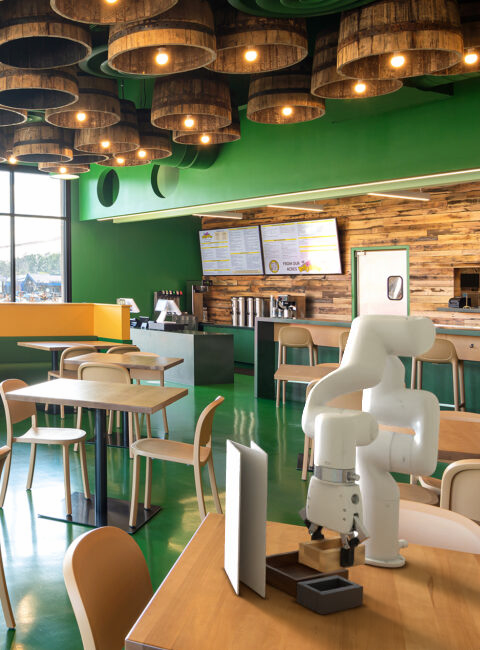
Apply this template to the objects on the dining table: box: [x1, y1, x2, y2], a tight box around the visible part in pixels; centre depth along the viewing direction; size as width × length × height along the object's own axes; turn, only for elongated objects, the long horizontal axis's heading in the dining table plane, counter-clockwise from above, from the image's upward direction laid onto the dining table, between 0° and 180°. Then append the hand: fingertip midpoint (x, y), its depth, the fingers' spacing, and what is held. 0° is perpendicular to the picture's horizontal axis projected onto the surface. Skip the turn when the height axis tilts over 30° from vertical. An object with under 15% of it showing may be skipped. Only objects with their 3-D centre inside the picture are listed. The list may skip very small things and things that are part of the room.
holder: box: [265, 549, 350, 598], centre depth 149 cm, size 16×13×4 cm
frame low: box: [295, 575, 364, 615], centre depth 137 cm, size 12×6×4 cm, turn 114°
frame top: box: [298, 534, 366, 573], centre depth 138 cm, size 12×6×4 cm, turn 114°
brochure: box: [224, 439, 269, 598], centre depth 146 cm, size 14×6×30 cm, turn 169°
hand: (331, 559), depth 138 cm, fingers closed on frame top, 6 cm apart
